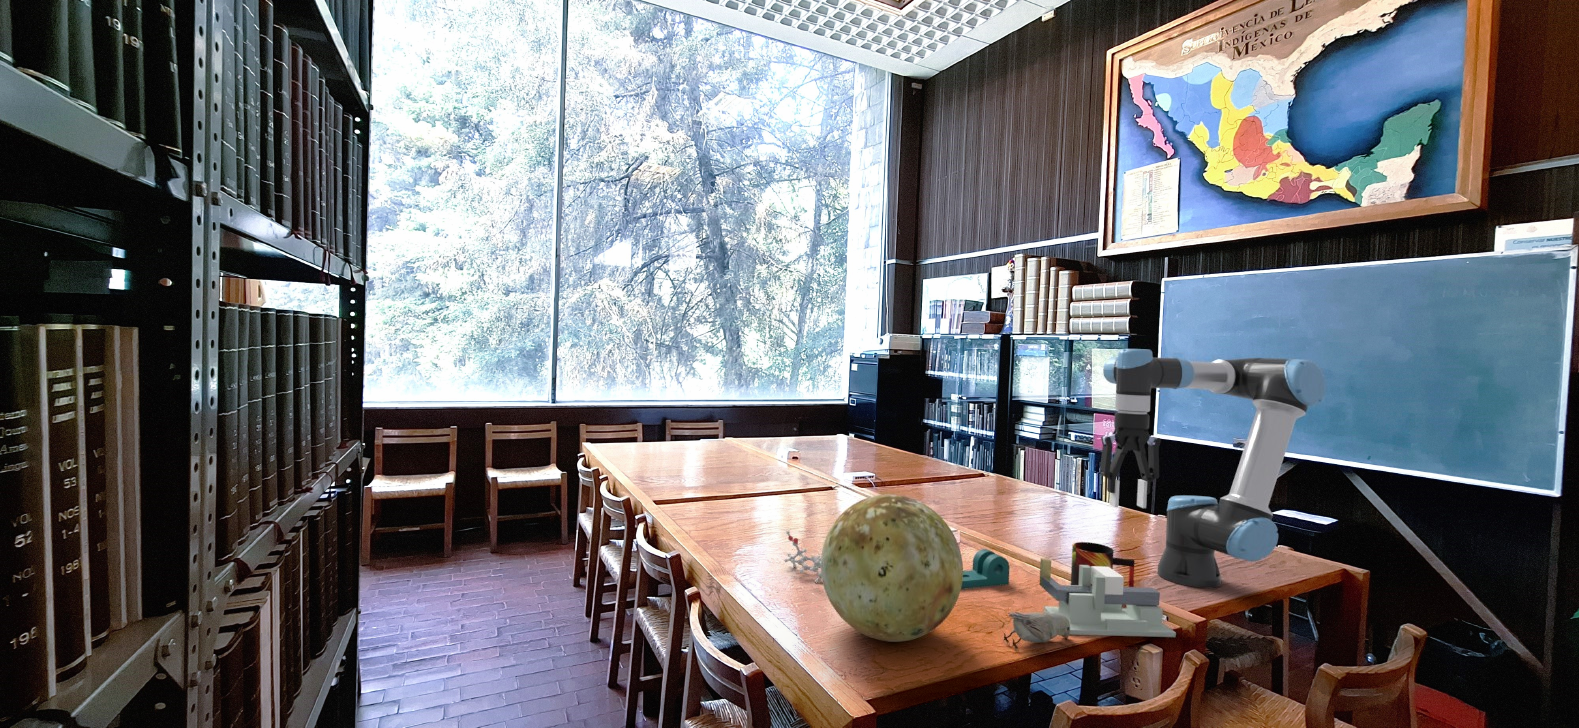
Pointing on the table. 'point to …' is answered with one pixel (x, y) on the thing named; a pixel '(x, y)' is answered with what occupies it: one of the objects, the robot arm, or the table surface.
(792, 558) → the molecular model
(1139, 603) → the bent bar
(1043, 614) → the decorative bird
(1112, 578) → the block
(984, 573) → the bracket
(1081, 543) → the mug
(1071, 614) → the stepped block fixture
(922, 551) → the globe
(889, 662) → the table surface
